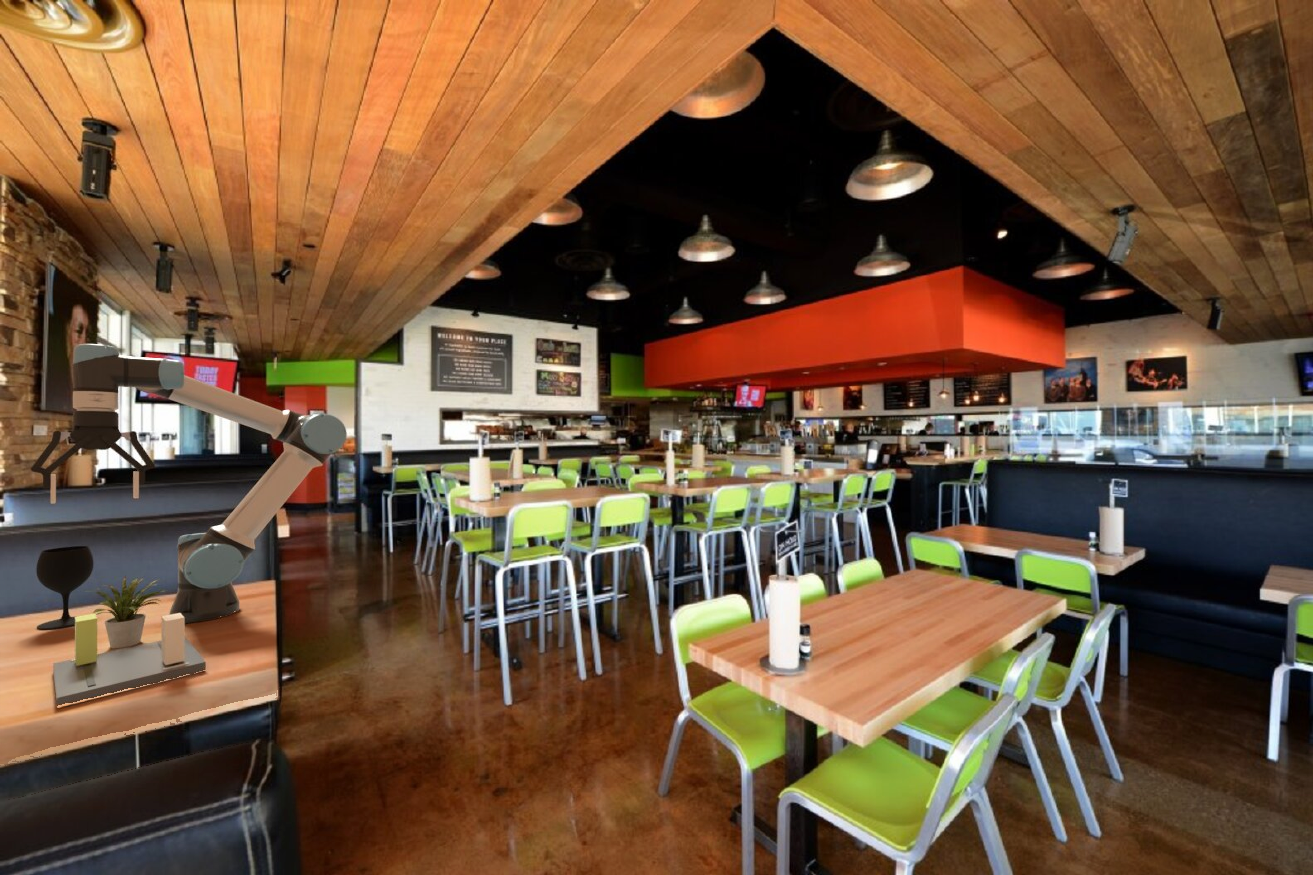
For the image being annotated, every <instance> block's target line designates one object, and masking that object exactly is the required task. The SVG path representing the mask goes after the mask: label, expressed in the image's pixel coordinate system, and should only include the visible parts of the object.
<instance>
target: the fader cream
mask: <svg viewBox="0 0 1313 875" xmlns="http://www.w3.org/2000/svg"><path fill="white" fill-rule="evenodd" d="M185 625H186V623H185V618H184V616H183V615H182V614H181V613H177V614H171V615H169V614H165V615H162V616H161V641H162V660H163V662H164V664H165V665H168V664H173V663H177V662H181V661H185V637H186V636H185V635H186V634H185V632H186V631H185V628H186V626H185Z"/></svg>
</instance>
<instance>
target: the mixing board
mask: <svg viewBox="0 0 1313 875" xmlns="http://www.w3.org/2000/svg"><path fill="white" fill-rule="evenodd" d="M52 667H53V671H52V672H53V683H54V684H55V685H54V684H53V685H54V692H55V693H56V695H55V704H56V703H57V706H58V705H62V704H65V703H73V702H77V701H80V700H83V699H88V698H94V697H97V696H101V695H104V694H107V693H114V692H117V691H120V690H121V691H122V690H124V689H128V688H136V687H140V686H143V685H147V684H153V683H158V682H160V681H164V680H166V679H173V678H177V677H179V676H183V675H186V674H193V675H195V674H194V673H196V672H199V671H203V670H206V661H205V659H204V658H203V657H202V655H201V654H200V652H198V650H197V649H196V648H195V647H194V646H193V644H192V643H191V641H190V640H188V638H187V637H186V636H185V661H181V662H177V663H173V664H168V665H165V664H164V662H163V660H162V640H158V641H153V642H148V643H143V644H139V645H135V646H134V645H132V646H128V647H123V648H118V649H114V650H111V651H110V650H109V651H107V652H105V651H104V652H100V653H97V661H96V662H92V663H87V664H83V665H78V666H76V662H75V658H72V659H67V660H62V661H59V662H54V663H53V666H52ZM206 671H207V670H206ZM177 679H178V678H177ZM173 680H174V679H173ZM158 684H159V683H158ZM57 706H56V707H57Z"/></svg>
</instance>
